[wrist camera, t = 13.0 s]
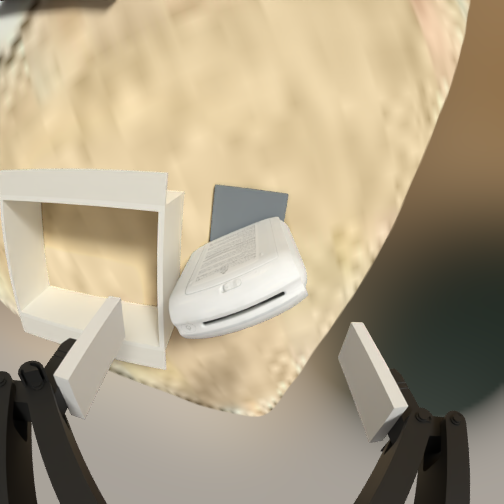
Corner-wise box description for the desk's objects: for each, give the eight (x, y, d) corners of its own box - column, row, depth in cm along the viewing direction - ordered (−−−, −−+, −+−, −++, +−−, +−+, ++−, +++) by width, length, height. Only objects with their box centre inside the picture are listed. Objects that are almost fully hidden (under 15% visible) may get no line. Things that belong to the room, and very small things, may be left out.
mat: (205, 294, 32) (205, 296, 31) (215, 184, 27) (215, 185, 27) (269, 302, 32) (269, 303, 32) (287, 193, 28) (288, 194, 27)
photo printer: (205, 284, 31) (183, 361, 19) (186, 249, 29) (150, 314, 18) (296, 247, 29) (325, 313, 18) (281, 209, 28) (303, 255, 16)
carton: (51, 304, 32) (24, 331, 26) (38, 162, 26) (-1, 170, 19) (179, 330, 33) (165, 369, 27) (187, 166, 27) (167, 173, 20)
